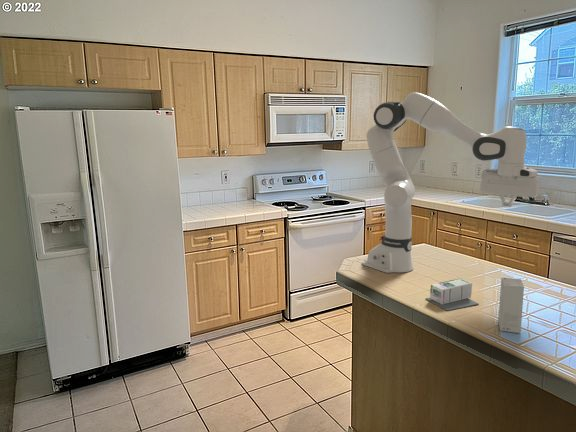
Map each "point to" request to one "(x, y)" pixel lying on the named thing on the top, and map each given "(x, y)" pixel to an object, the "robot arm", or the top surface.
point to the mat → (454, 304)
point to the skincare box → (511, 305)
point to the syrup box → (451, 291)
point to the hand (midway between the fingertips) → (506, 206)
